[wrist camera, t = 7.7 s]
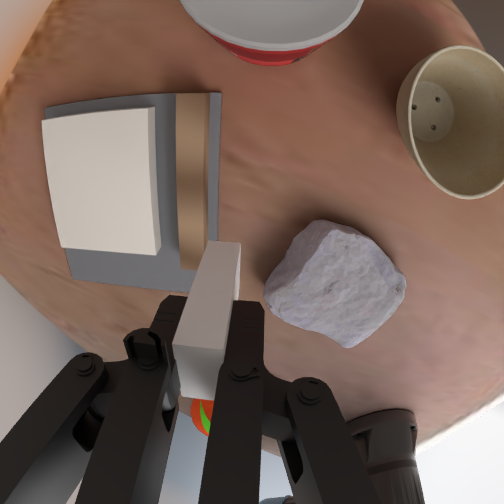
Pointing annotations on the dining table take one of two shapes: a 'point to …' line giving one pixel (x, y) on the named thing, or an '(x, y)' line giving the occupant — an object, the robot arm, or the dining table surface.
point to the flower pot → (455, 120)
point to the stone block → (335, 283)
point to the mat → (168, 257)
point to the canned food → (272, 26)
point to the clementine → (202, 414)
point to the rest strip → (192, 176)
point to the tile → (104, 180)
